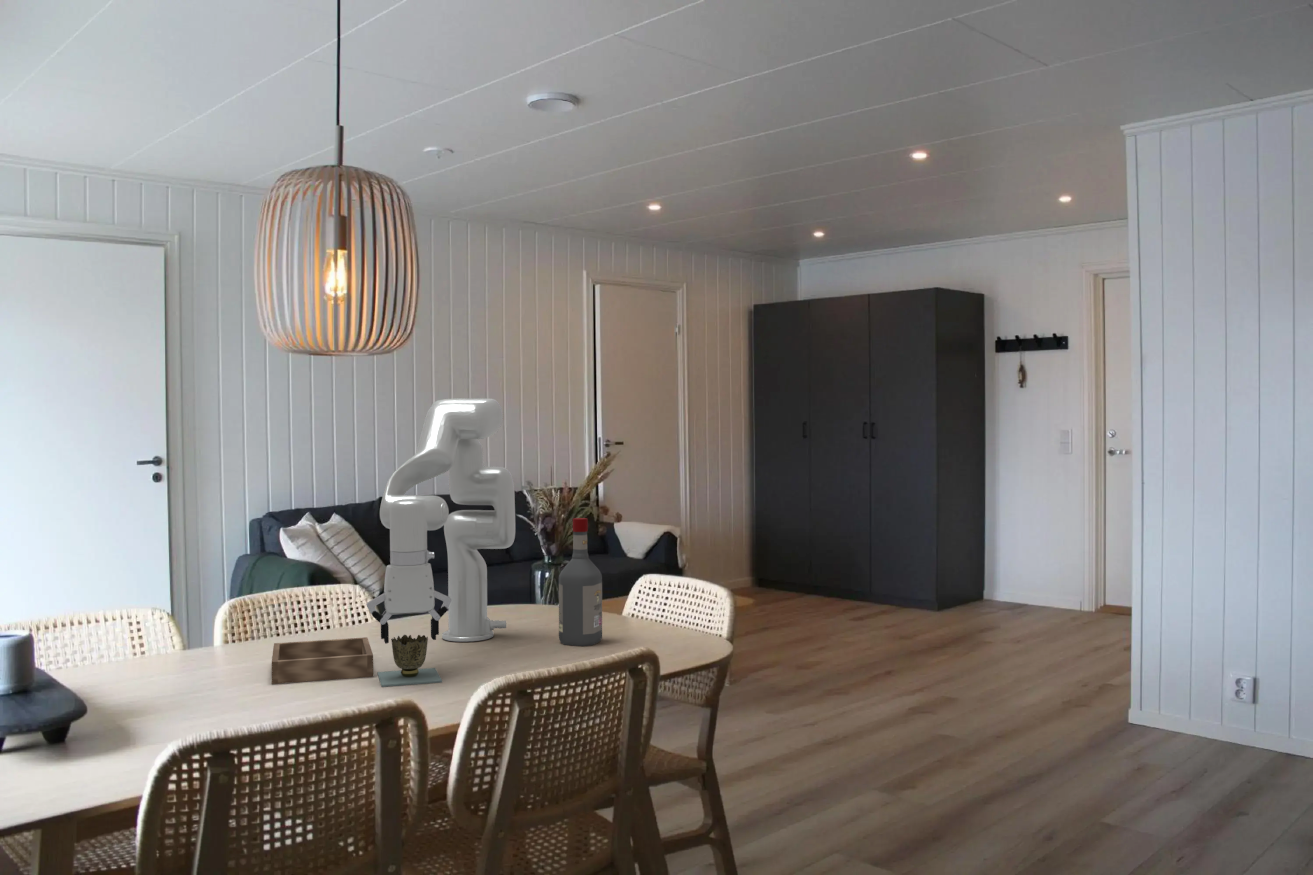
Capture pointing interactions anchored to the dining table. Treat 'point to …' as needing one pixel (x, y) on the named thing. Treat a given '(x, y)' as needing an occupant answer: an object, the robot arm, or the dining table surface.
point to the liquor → (580, 594)
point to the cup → (409, 653)
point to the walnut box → (321, 660)
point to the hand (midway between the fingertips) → (410, 640)
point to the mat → (409, 678)
